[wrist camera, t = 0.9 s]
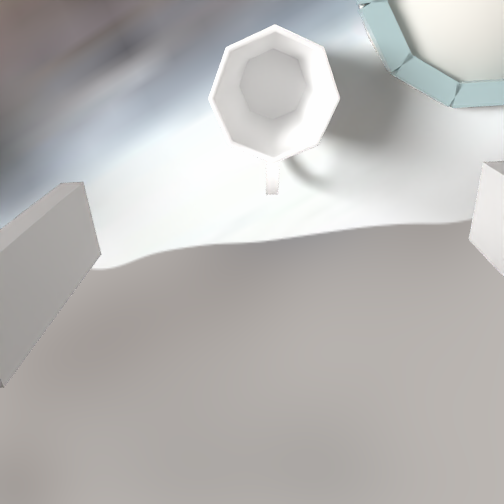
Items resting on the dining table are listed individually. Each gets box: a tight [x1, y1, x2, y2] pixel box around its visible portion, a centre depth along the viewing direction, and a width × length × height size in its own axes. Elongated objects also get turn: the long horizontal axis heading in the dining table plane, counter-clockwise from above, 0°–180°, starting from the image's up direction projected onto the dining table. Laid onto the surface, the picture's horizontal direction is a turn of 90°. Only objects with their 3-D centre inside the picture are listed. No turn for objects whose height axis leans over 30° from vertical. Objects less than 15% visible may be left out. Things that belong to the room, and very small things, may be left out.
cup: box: [208, 24, 340, 194], centre depth 27 cm, size 7×10×8 cm
